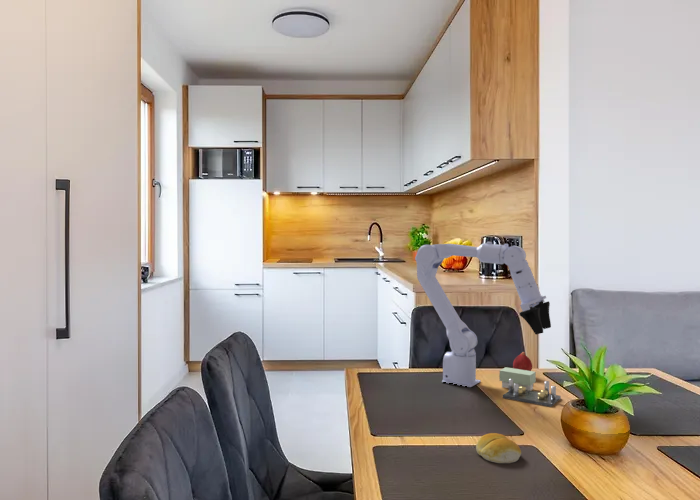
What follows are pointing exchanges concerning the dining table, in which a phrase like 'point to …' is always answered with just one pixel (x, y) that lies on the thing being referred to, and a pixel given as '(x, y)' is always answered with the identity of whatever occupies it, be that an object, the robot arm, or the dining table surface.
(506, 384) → the stand
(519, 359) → the onion
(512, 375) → the pale green block
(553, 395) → the chassis
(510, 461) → the bread roll
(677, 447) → the dining table surface
